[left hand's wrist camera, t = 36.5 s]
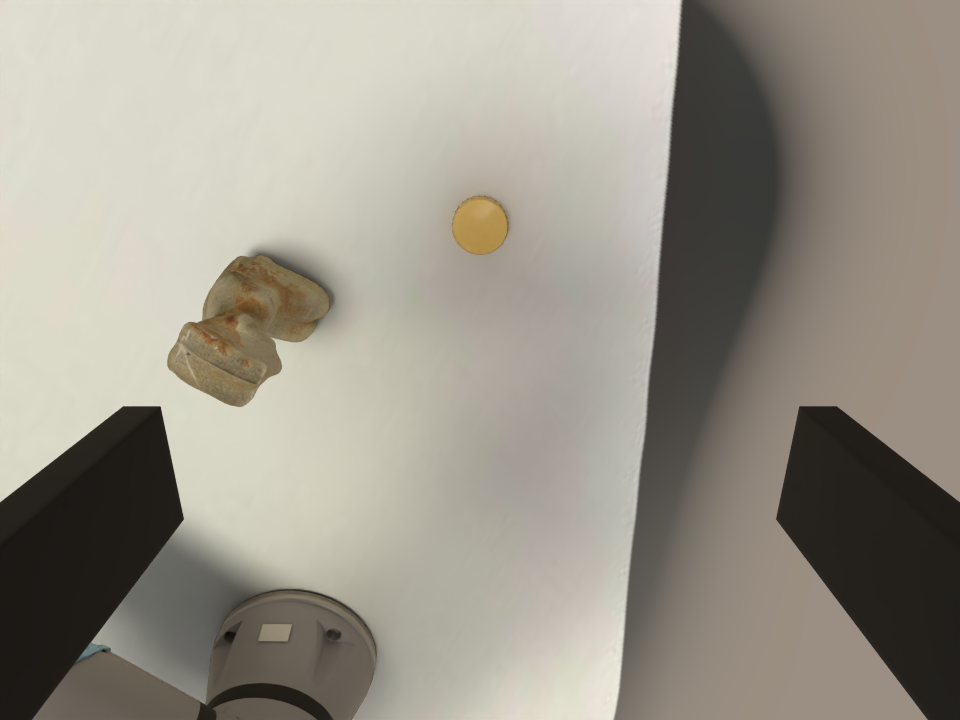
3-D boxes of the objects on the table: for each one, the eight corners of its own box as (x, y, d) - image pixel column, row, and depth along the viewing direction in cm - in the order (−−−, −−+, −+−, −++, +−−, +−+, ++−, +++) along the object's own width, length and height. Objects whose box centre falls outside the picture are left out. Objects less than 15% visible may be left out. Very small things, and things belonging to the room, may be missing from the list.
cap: (481, 261, 46) (482, 266, 44) (441, 225, 45) (440, 229, 43) (518, 221, 45) (519, 225, 43) (477, 183, 44) (477, 186, 42)
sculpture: (303, 347, 48) (229, 437, 34) (222, 291, 46) (111, 362, 32) (344, 290, 46) (285, 361, 32) (262, 231, 45) (163, 278, 31)
